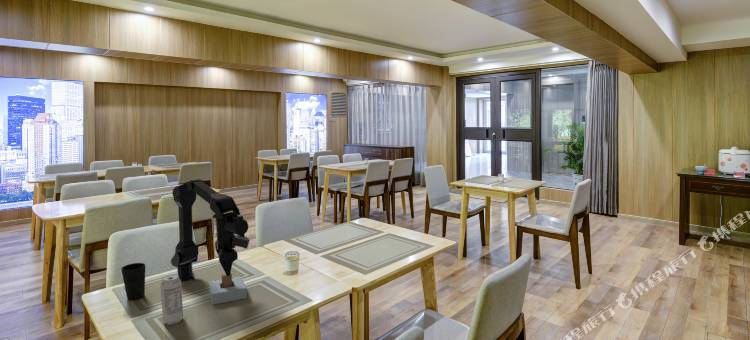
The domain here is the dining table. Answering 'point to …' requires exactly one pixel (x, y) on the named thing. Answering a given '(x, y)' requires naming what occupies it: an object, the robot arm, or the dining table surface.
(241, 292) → the socket
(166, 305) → the energy drink can
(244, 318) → the dining table surface
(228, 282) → the dowel
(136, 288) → the cup
